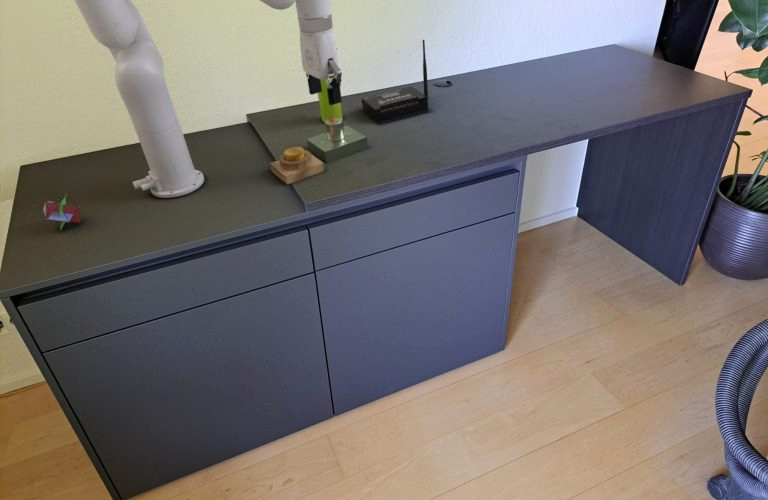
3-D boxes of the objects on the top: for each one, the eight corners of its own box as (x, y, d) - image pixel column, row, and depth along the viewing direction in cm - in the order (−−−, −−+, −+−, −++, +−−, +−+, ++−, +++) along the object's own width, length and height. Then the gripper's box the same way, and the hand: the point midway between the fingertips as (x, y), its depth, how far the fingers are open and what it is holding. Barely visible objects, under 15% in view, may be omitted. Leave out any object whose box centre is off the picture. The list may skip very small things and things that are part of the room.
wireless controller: (379, 125, 153) (373, 62, 143) (360, 109, 164) (353, 50, 154) (443, 108, 158) (441, 47, 149) (421, 94, 169) (418, 36, 159)
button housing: (287, 184, 130) (283, 169, 127) (271, 171, 136) (268, 156, 134) (324, 170, 134) (322, 155, 131) (307, 158, 140) (305, 143, 138)
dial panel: (326, 162, 137) (324, 151, 135) (308, 149, 144) (306, 138, 142) (367, 147, 142) (366, 136, 140) (348, 135, 149) (346, 124, 147)
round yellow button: (290, 164, 130) (289, 157, 129) (282, 157, 133) (281, 150, 132) (308, 157, 132) (306, 151, 131) (299, 151, 135) (298, 145, 134)
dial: (347, 137, 141) (345, 119, 138) (332, 143, 139) (329, 125, 136) (339, 132, 144) (337, 114, 141) (324, 137, 142) (321, 119, 139)
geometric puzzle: (93, 205, 125) (59, 183, 121) (85, 220, 120) (49, 198, 116) (75, 225, 127) (41, 204, 123) (66, 241, 122) (30, 220, 118)
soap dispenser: (343, 123, 156) (332, 50, 145) (319, 123, 158) (307, 51, 146) (348, 114, 161) (338, 44, 149) (325, 115, 162) (314, 45, 151)
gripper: (284, 20, 129) (295, 93, 139) (319, 34, 117) (329, 112, 127) (312, 14, 132) (321, 85, 142) (349, 27, 120) (357, 103, 130)
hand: (325, 98), depth 134 cm, fingers open, 9 cm apart
